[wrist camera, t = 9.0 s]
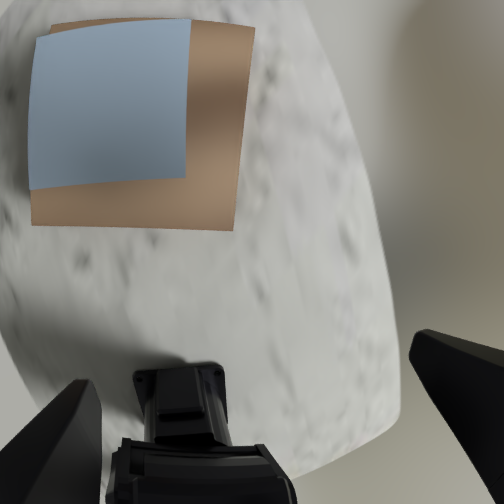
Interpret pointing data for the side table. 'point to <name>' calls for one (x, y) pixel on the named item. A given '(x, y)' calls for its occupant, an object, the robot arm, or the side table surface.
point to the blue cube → (109, 104)
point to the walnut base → (197, 148)
